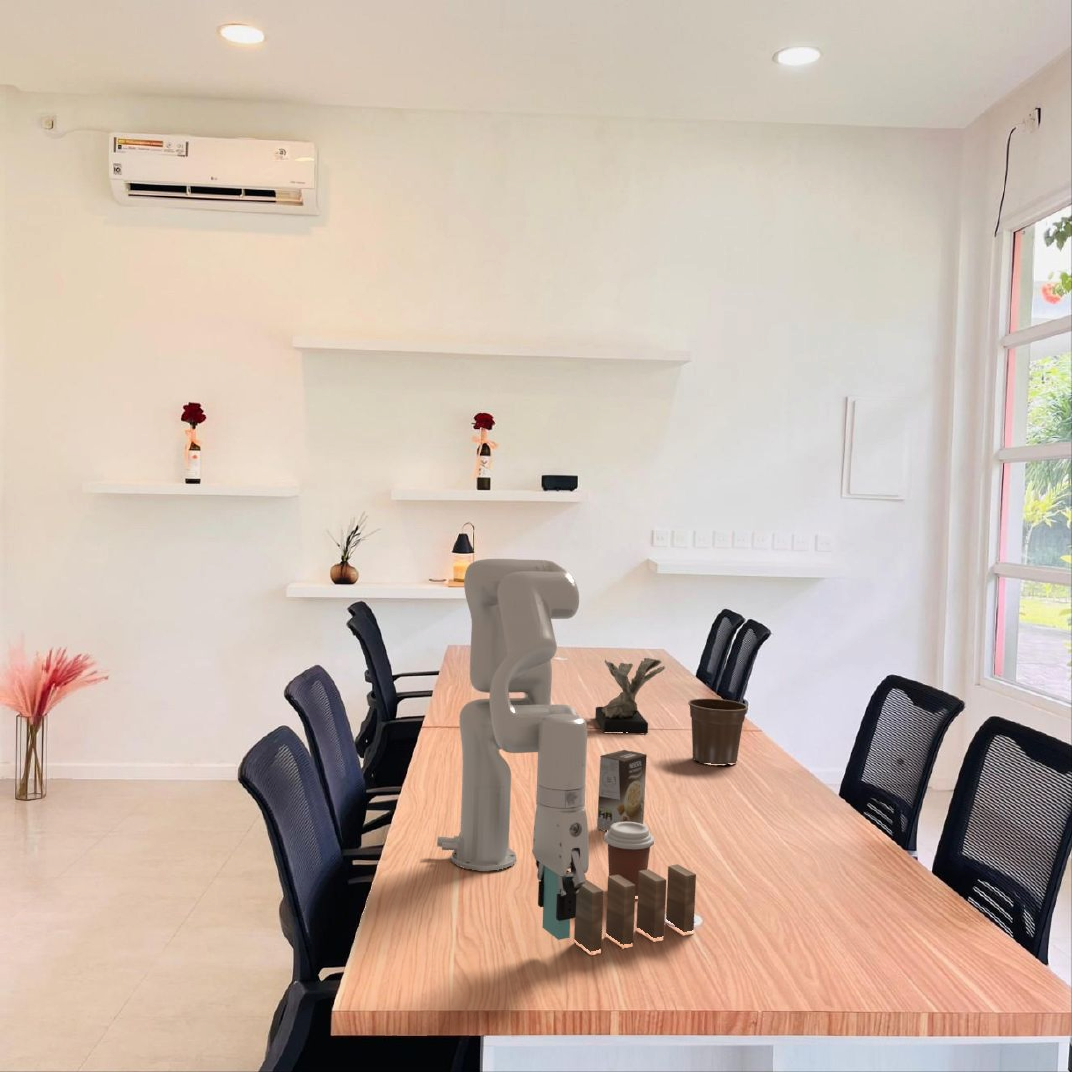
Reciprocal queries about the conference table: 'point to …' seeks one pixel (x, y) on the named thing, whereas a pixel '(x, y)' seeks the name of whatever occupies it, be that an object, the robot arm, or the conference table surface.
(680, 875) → the domino
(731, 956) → the conference table surface
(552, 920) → the teal domino
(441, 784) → the conference table surface
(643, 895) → the domino
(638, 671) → the coral
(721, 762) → the plant pot
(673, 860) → the conference table surface
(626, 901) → the domino
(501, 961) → the conference table surface
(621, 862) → the coffee cup
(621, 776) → the coffee box
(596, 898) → the domino
